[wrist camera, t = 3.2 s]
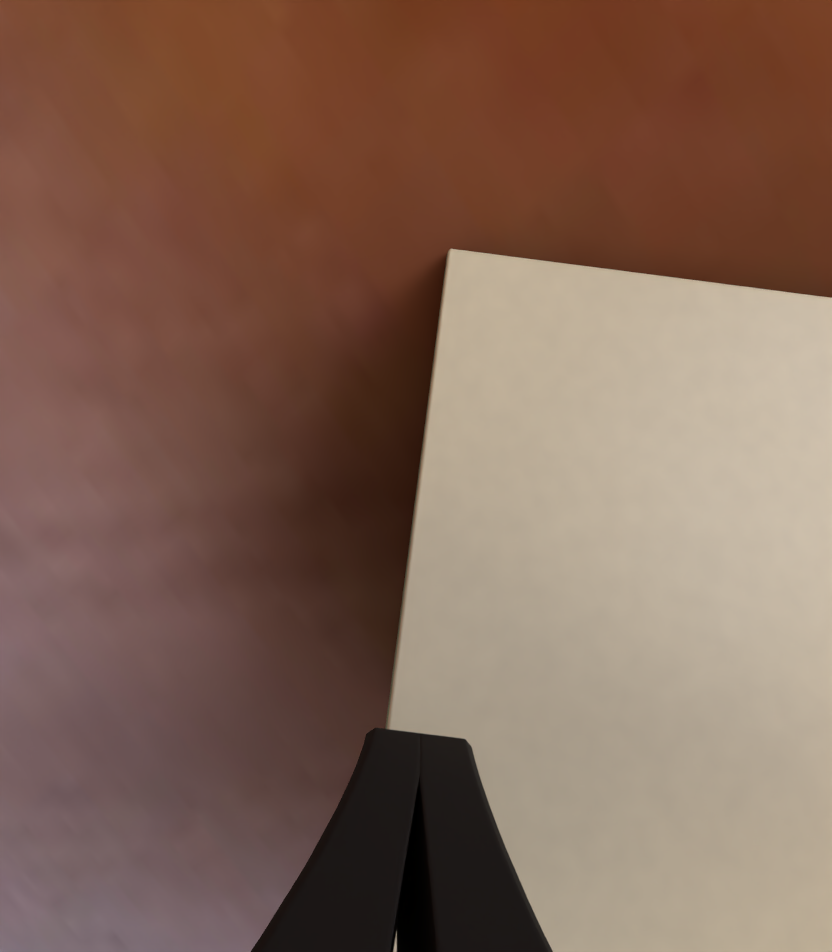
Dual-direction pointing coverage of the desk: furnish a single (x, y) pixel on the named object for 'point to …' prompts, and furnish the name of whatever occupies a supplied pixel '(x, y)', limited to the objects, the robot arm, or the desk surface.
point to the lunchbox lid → (633, 597)
